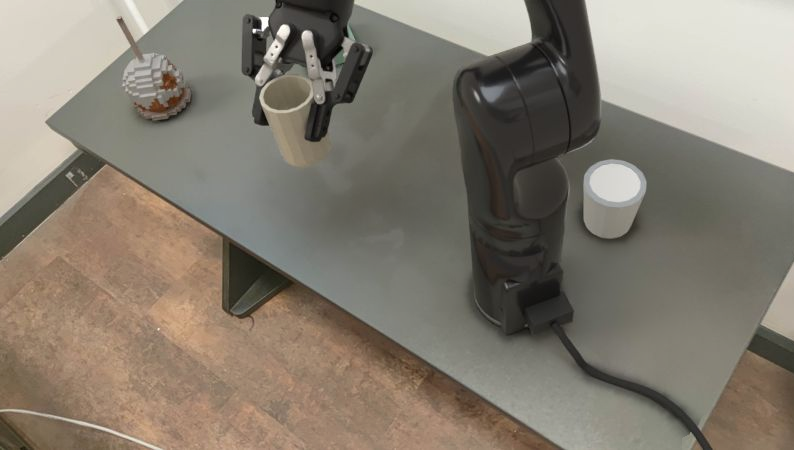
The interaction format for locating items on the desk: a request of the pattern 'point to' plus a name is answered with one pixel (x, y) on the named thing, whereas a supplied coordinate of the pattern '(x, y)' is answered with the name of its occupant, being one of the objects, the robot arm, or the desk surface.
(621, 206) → the white cylinder
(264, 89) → the cup
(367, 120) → the desk surface
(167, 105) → the voxel caramel apple
